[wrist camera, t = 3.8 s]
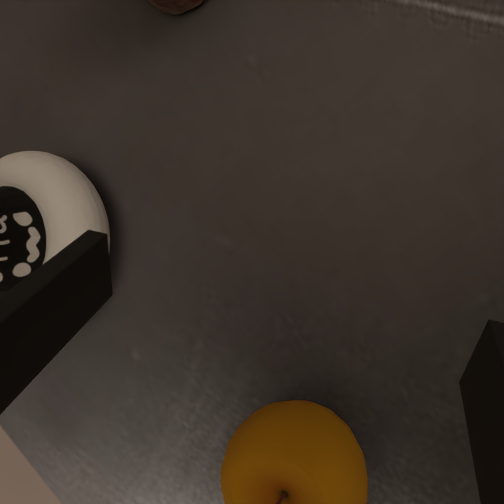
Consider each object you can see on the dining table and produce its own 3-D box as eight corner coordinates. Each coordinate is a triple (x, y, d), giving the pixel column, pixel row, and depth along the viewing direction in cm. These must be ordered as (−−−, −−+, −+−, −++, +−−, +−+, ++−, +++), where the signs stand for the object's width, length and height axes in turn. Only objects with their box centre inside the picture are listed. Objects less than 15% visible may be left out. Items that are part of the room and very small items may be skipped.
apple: (364, 525, 30) (341, 632, 21) (247, 480, 33) (186, 558, 24) (387, 400, 29) (372, 461, 21) (265, 366, 32) (210, 407, 24)
